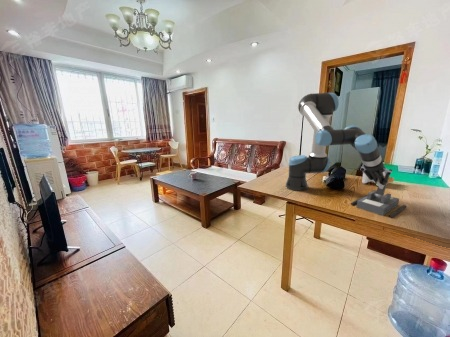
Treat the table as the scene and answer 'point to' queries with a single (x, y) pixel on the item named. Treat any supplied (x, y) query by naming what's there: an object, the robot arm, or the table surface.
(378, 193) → the lever
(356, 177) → the table surface
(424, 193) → the table surface
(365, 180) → the cable organizer
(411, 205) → the table surface
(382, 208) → the breaker block
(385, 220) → the table surface
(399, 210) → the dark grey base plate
